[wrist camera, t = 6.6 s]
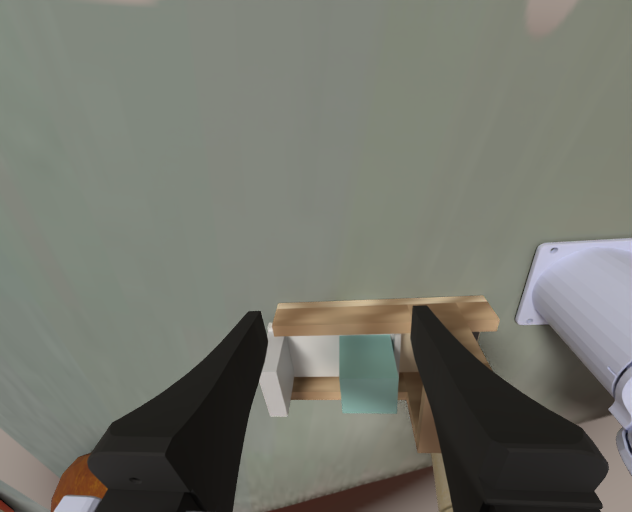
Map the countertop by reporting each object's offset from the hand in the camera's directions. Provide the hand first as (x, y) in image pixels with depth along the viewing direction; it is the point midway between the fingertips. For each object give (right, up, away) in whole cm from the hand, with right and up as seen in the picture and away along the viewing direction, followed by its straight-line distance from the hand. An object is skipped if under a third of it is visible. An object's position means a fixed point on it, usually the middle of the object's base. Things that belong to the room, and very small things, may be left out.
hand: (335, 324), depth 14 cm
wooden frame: (+5, -5, +15) cm, 16 cm away
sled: (+1, -6, +14) cm, 15 cm away
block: (+4, -6, +13) cm, 15 cm away
